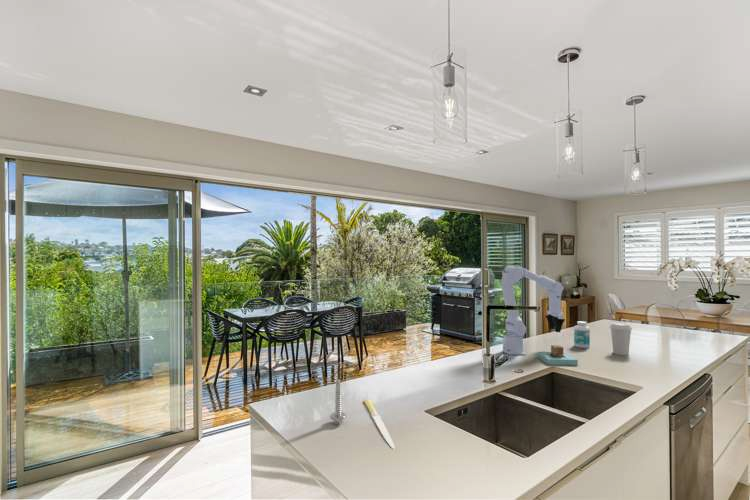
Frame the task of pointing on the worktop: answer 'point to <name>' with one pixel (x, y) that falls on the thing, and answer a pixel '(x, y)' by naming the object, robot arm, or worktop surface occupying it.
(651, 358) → the worktop surface
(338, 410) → the screw
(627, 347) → the coffee cup
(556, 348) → the walnut peg
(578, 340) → the pill bottle
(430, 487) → the worktop surface
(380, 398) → the worktop surface
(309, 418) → the worktop surface
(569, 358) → the socket plate
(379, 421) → the knife
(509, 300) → the robot arm
